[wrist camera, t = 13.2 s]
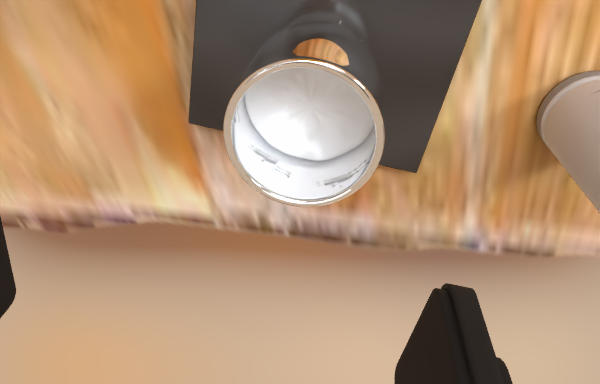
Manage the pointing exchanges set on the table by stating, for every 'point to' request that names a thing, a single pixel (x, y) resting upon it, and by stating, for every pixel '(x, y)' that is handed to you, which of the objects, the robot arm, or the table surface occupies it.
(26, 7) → the table surface
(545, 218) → the table surface
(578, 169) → the travel mug
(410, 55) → the serving board
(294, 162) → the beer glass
